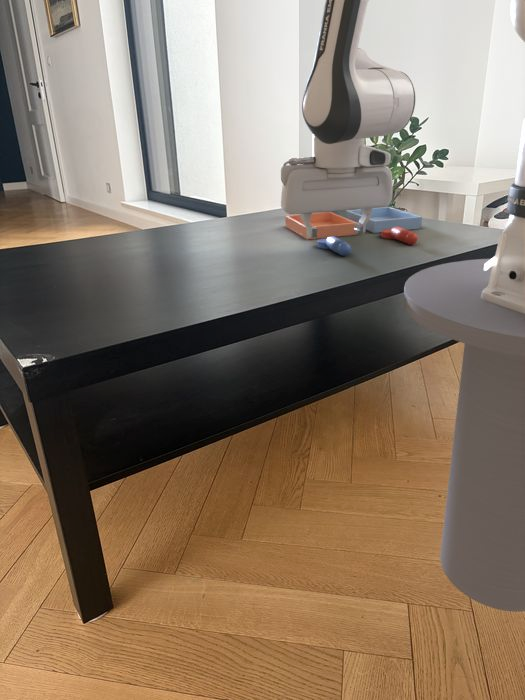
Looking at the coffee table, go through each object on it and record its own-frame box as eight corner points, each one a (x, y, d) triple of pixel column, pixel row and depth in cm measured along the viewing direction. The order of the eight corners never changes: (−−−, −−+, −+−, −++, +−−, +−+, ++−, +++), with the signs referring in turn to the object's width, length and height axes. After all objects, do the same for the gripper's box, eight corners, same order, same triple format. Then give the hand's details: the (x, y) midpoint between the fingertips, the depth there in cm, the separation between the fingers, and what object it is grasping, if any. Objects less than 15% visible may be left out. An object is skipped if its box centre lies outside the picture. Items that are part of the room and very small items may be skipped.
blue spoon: (356, 256, 99) (357, 243, 98) (336, 258, 98) (336, 245, 97) (333, 243, 109) (333, 231, 108) (314, 245, 108) (314, 233, 107)
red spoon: (423, 245, 105) (424, 232, 104) (404, 247, 104) (405, 234, 103) (395, 234, 115) (396, 222, 114) (377, 235, 114) (378, 224, 113)
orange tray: (357, 234, 116) (357, 222, 115) (306, 239, 113) (306, 227, 112) (330, 222, 129) (330, 211, 128) (285, 226, 127) (285, 215, 126)
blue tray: (421, 228, 119) (422, 216, 118) (373, 233, 117) (374, 221, 116) (389, 217, 133) (389, 206, 132) (345, 221, 130) (346, 210, 129)
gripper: (286, 160, 90) (287, 243, 95) (399, 154, 94) (393, 234, 100) (275, 157, 95) (276, 236, 101) (382, 151, 100) (378, 227, 106)
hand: (335, 235), depth 101 cm, fingers open, 8 cm apart
